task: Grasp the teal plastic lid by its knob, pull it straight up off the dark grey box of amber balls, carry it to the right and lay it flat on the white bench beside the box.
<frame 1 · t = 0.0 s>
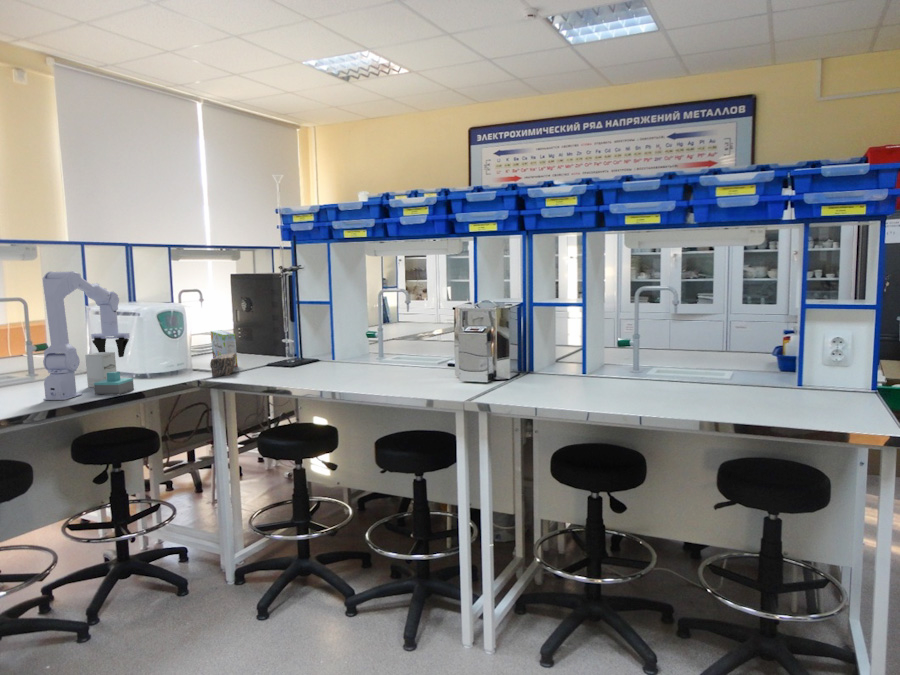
hand: (112, 356, 248), 10 cm above the lab bench, tool pointing down, fingers open, 7 cm apart
box: (114, 392, 229), on the lab bench
snack box: (224, 365, 291), on the lab bench
stone block: (226, 374, 266), on the lab bench
lid: (114, 382, 228), point 3 cm above the lab bench, touching box
supplement box: (102, 386, 243), on the lab bench
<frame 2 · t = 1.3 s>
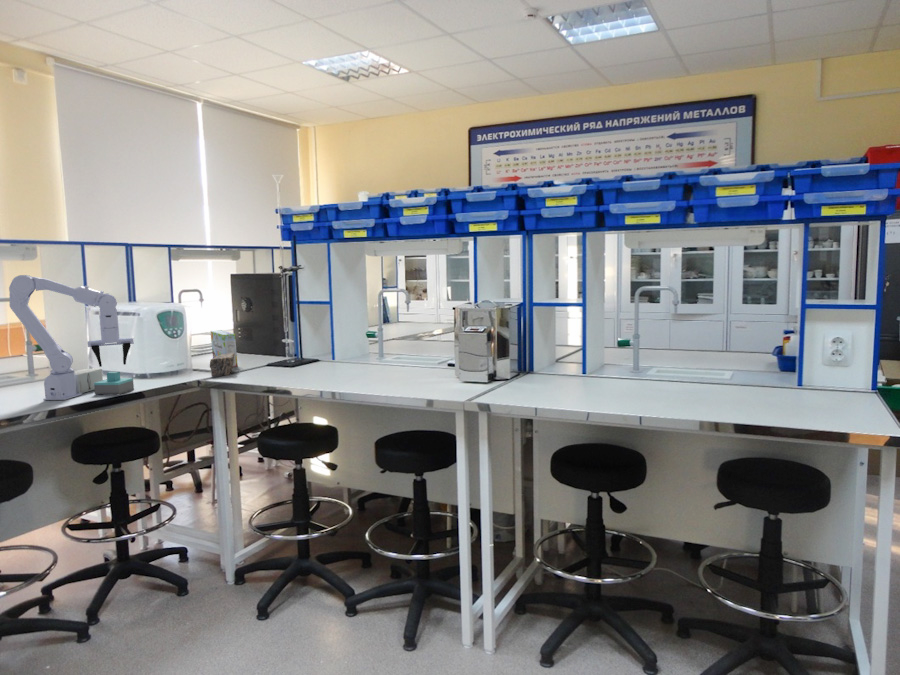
hand: (112, 365, 228), 10 cm above the lab bench, tool pointing down, fingers open, 7 cm apart
supplement box: (95, 377, 239), point 4 cm above the lab bench
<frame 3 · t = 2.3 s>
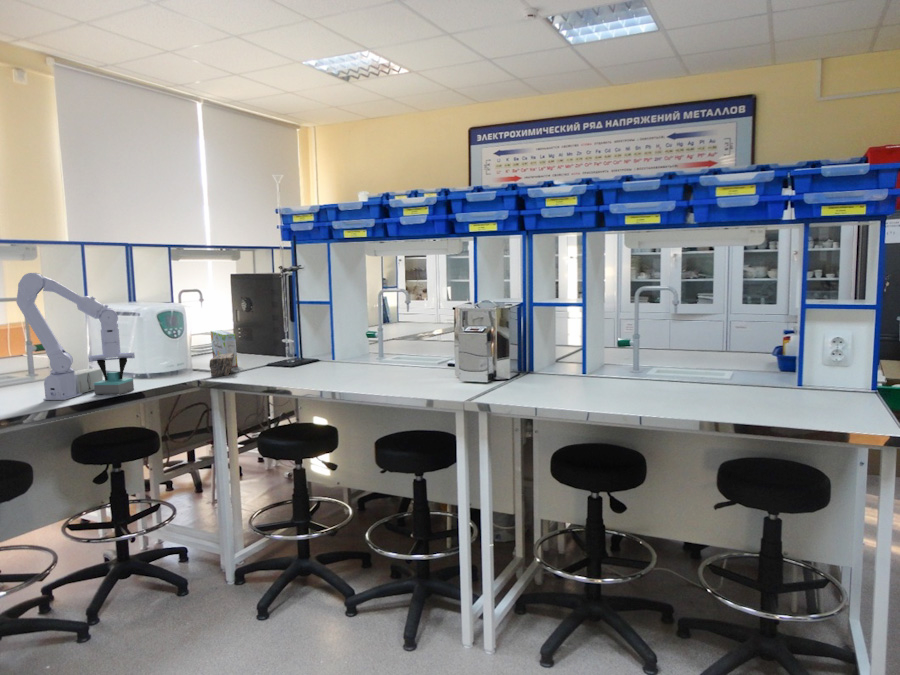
hand: (113, 379, 228), 5 cm above the lab bench, tool pointing down, fingers closed on lid, 4 cm apart
lid: (114, 382, 228), point 3 cm above the lab bench, touching box, gripper
everything else where it was.
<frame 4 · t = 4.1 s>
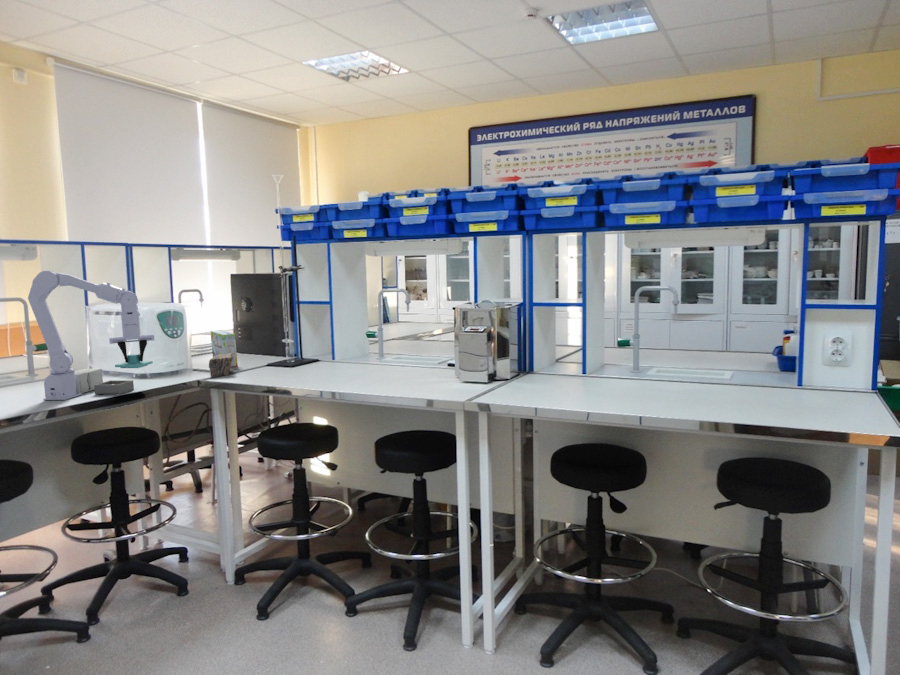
hand: (134, 361, 230), 11 cm above the lab bench, tool pointing down, fingers closed on lid, 4 cm apart
lid: (134, 365, 231), point 9 cm above the lab bench, touching gripper
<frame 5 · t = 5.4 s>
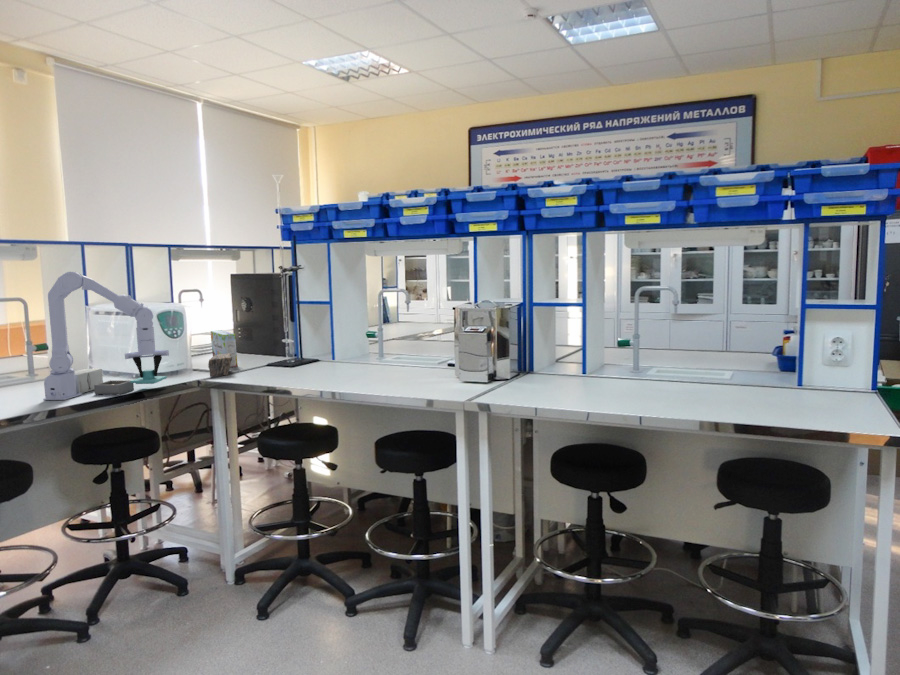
hand: (148, 376, 233), 5 cm above the lab bench, tool pointing down, fingers closed on lid, 4 cm apart
lid: (149, 380, 233), point 3 cm above the lab bench, touching gripper
when the fingers open (3 cm above the lab bench, at t = 6.2 s): lid drops 1 cm, on the lab bench.
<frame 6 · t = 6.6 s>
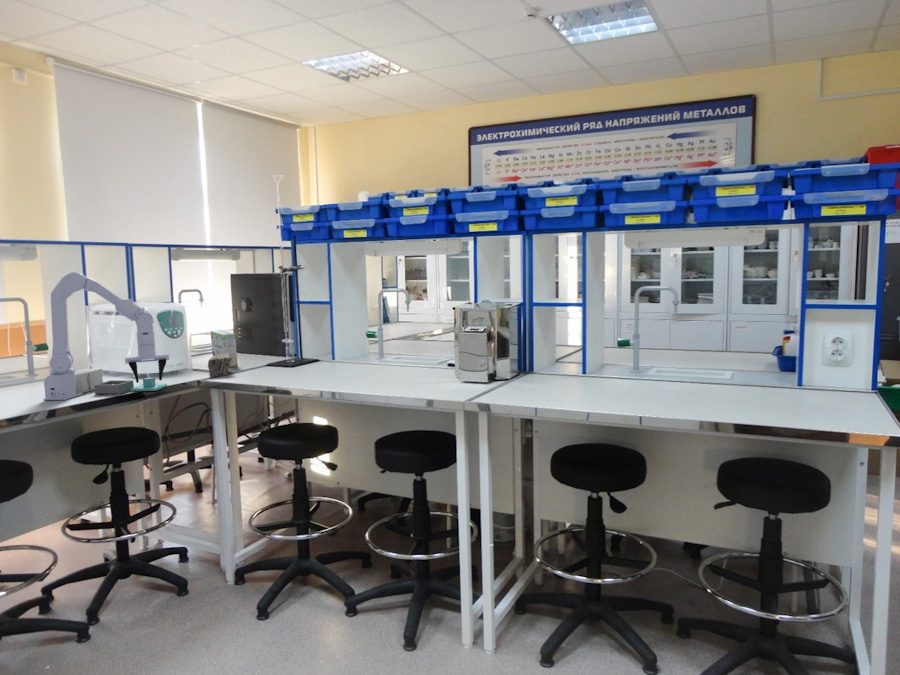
hand: (149, 381, 233), 3 cm above the lab bench, tool pointing down, fingers open, 7 cm apart
lid: (149, 388, 233), on the lab bench
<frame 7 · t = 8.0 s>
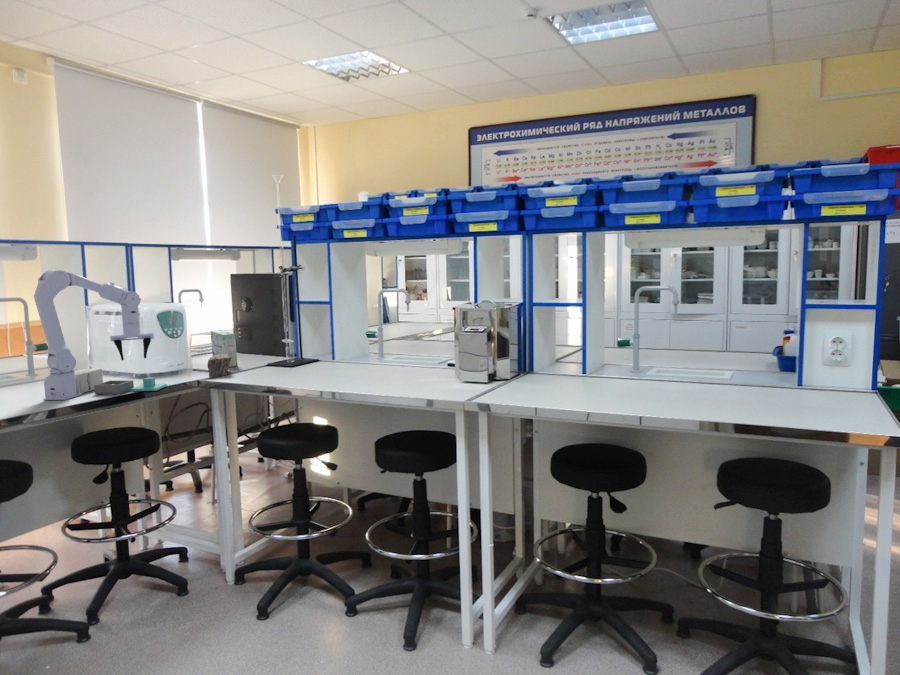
hand: (133, 359, 239), 10 cm above the lab bench, tool pointing down, fingers open, 7 cm apart
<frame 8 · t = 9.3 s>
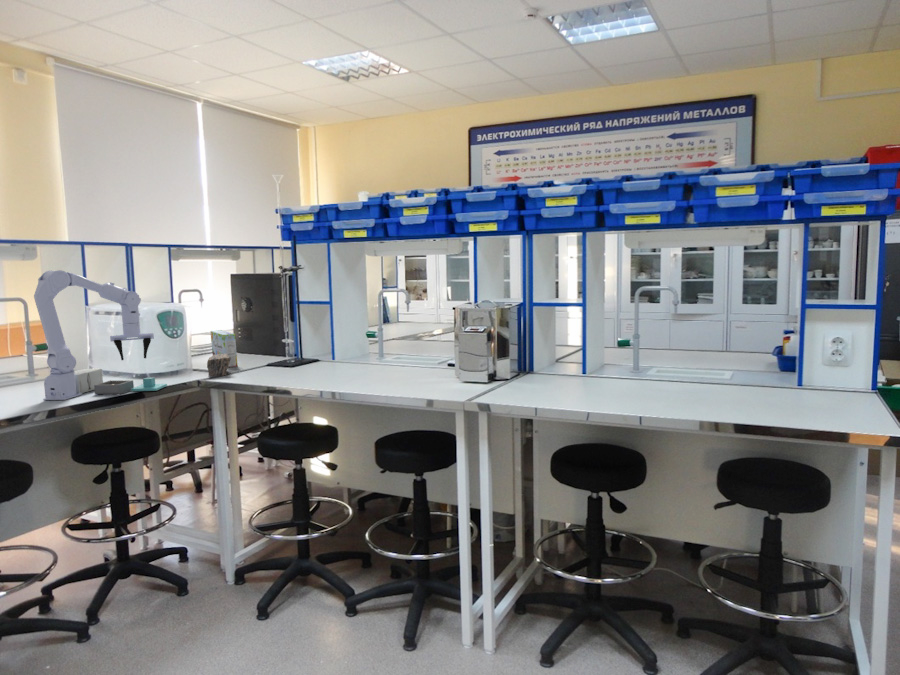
hand: (133, 359, 239), 10 cm above the lab bench, tool pointing down, fingers open, 7 cm apart
at the end: lid inside the target area (0.0 cm from its centre), on the lab bench; lid tilted 0°; the gripper is holding nothing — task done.
